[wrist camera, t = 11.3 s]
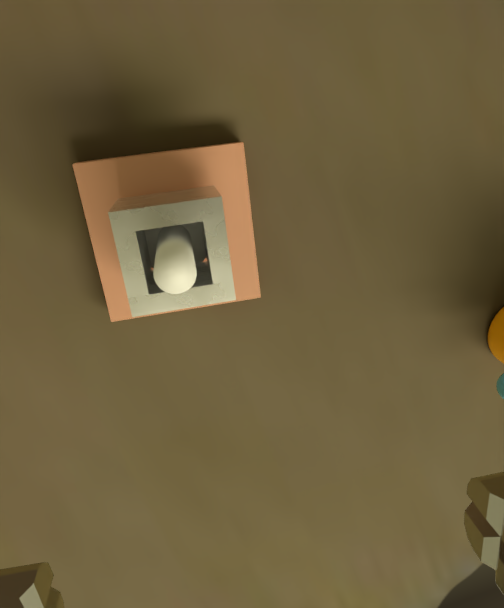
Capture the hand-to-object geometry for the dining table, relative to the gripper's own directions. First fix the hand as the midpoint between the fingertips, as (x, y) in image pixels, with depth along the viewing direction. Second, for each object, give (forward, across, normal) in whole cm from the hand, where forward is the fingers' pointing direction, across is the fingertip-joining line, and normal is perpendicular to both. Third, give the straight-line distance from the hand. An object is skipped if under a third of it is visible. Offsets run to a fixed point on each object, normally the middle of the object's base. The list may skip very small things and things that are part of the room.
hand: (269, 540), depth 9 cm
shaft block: (+24, +2, -1) cm, 24 cm away
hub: (+22, +2, -1) cm, 22 cm away
